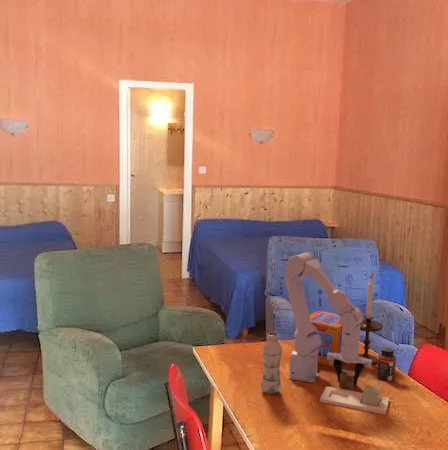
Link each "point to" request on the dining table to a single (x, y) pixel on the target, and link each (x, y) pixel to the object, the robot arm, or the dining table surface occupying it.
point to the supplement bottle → (386, 365)
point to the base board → (352, 400)
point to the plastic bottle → (271, 364)
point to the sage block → (371, 395)
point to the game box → (327, 334)
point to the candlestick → (369, 325)
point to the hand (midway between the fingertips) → (347, 383)
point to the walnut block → (347, 379)
